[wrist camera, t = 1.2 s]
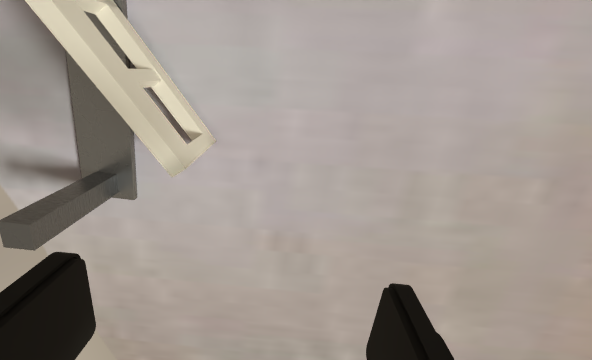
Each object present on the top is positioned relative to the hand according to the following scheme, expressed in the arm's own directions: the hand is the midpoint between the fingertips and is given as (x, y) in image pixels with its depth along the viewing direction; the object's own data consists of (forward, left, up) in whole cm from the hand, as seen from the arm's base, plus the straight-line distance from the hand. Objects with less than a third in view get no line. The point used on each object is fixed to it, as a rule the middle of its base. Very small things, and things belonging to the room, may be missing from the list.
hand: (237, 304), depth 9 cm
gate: (-5, -13, -25) cm, 29 cm away
